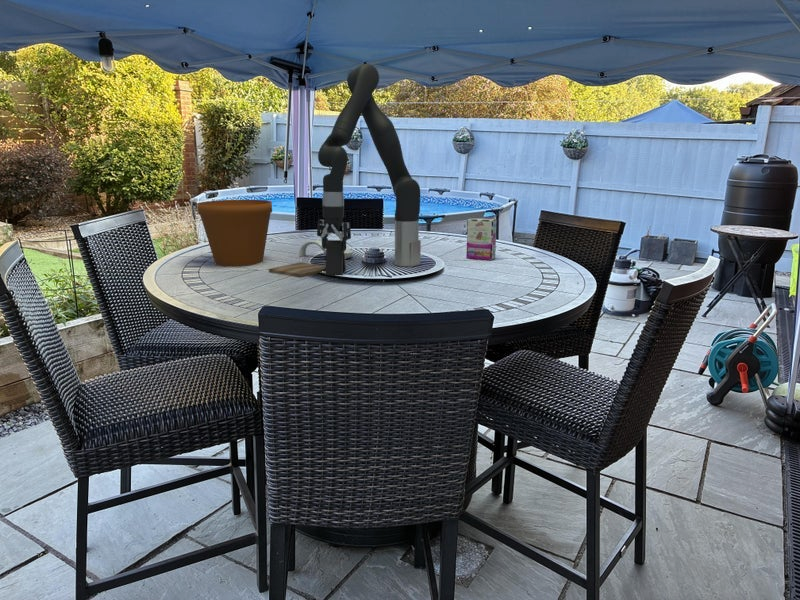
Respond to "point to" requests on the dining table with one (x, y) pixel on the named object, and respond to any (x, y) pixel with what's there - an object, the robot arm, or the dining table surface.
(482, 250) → the candy bar box
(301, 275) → the walnut board
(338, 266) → the phone stand
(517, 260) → the dining table surface
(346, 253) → the spoon rest
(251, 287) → the dining table surface
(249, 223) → the flowerpot
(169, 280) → the dining table surface
